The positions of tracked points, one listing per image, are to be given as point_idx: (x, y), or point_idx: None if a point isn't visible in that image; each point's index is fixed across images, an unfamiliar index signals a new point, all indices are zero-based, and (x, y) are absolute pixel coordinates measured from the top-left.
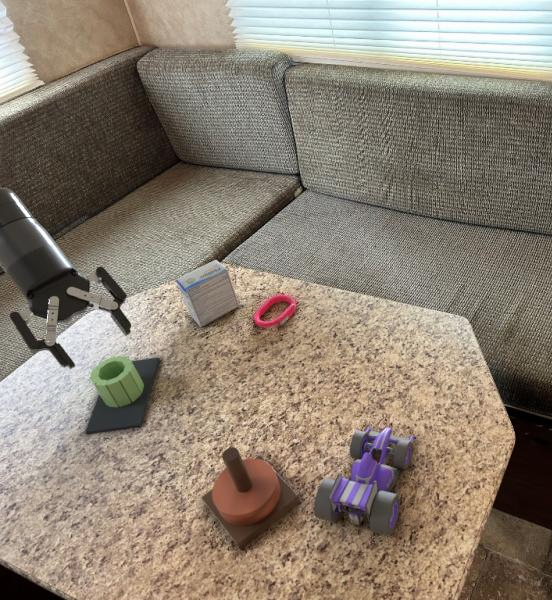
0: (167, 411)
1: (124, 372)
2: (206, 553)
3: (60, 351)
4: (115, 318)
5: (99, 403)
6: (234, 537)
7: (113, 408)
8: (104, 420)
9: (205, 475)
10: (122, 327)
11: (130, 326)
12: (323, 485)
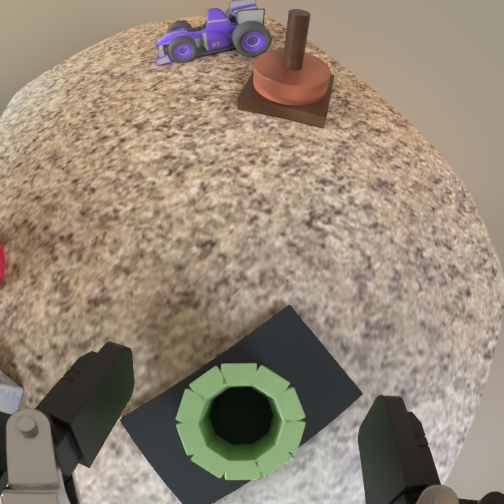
0: (230, 288)
1: (227, 377)
2: (356, 103)
3: (412, 452)
4: (89, 399)
5: None
6: (331, 78)
7: None
8: (322, 385)
9: (294, 148)
10: (115, 362)
11: (94, 353)
12: (250, 25)
